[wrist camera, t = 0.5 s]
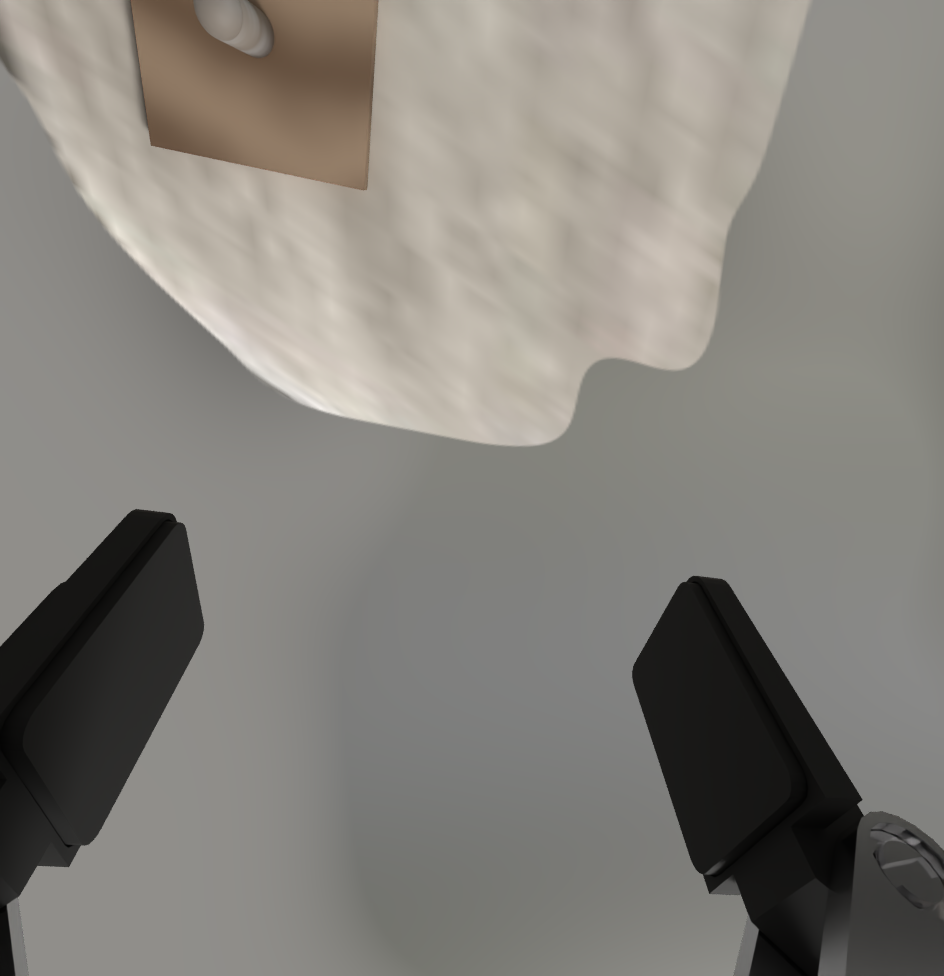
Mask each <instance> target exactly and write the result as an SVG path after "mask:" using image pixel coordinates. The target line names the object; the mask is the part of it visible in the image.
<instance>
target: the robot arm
mask: <svg viewBox="0 0 944 976" xmlns="http://www.w3.org/2000/svg"><path fill="white" fill-rule="evenodd" d="M203 631H204V621H203V616H202V610H201V605H200V600H199V595H198V590H197V584H196V579H195V574H194V569H193V564H192V558H191V553H190V548H189V542H188V537H187V532H186V528H185V525H184V524H183V523H179V522H177V521H176V518H175V516H174V515H173V514H171V513H165V512H155V511H148V510H139V509H136V510H133V511H131V512H130V513H129V514H127V516H126V517H125V518H124V519H123V520H122V521H121V522H120V523H119V524H118V526H116V528H115V529H114V530H113V531H112V532H111V533H110V534H109V535H108V536H107V537H106V538H105V539H104V541H103V542H102V543H101V544H100V545H99V546H98V547H97V548H96V549H95V550H94V552H93V553H92V554H91V555H90V556H89V557H88V558H87V559H86V561H84V562H83V564H82V565H81V566H80V567H79V568H78V569H77V570H76V571H75V572H74V573H73V574H72V575H71V576H70V578H69V579H68V580H67V581H66V582H63V583H61V584H60V585H59V586H57V587H56V588H55V589H54V590H53V591H52V592H51V593H50V594H49V595H48V596H47V597H46V598H45V599H44V600H43V601H42V602H41V603H40V604H39V606H38V607H37V608H36V609H35V610H34V611H33V612H32V613H31V614H30V615H29V616H28V617H27V618H26V620H25V621H24V622H23V623H22V624H21V625H20V626H19V627H18V628H17V629H16V630H15V631H14V632H13V633H12V635H11V636H10V637H9V638H8V639H7V640H6V641H5V642H4V643H3V644H2V646H0V976H29V974H28V966H27V959H26V952H25V945H24V937H23V931H22V923H21V916H20V909H19V902H18V897H19V895H20V894H21V892H22V891H23V889H24V887H25V885H26V884H27V882H28V880H29V878H30V877H31V875H32V874H33V872H34V870H35V868H36V867H37V866H56V867H69V866H70V864H71V862H72V860H73V859H74V857H75V855H76V853H77V851H78V849H79V848H80V846H81V845H88V844H90V843H91V842H92V841H93V840H94V838H95V837H96V836H97V835H98V833H99V831H100V830H101V828H102V826H103V824H104V822H105V820H106V818H107V817H108V815H109V813H110V811H111V809H112V807H113V805H114V804H115V802H116V799H117V798H118V796H119V794H120V792H121V790H122V788H123V786H124V785H125V783H126V781H127V779H128V777H129V775H130V773H131V771H132V770H133V768H134V766H135V764H136V762H137V760H138V758H139V756H140V755H141V753H142V751H143V749H144V747H145V745H146V743H147V741H148V739H149V738H150V736H151V734H152V732H153V730H154V728H155V726H156V724H157V722H158V721H159V719H160V717H161V715H162V713H163V711H164V709H165V707H166V706H167V704H168V702H169V700H170V698H171V696H172V694H173V692H174V691H175V689H176V687H177V685H178V683H179V681H180V679H181V677H182V675H183V674H184V672H185V670H186V668H187V666H188V664H189V662H190V660H191V659H192V657H193V655H194V653H195V651H196V649H197V647H198V645H199V643H200V641H201V638H202V635H203ZM632 678H633V683H634V686H635V690H636V693H637V696H638V699H639V702H640V705H641V708H642V711H643V714H644V717H645V720H646V723H647V727H648V730H649V732H650V736H651V739H652V742H653V745H654V748H655V751H656V754H657V757H658V760H659V763H660V766H661V769H662V773H663V776H664V778H665V782H666V784H667V788H668V791H669V794H670V797H671V800H672V803H673V806H674V809H675V812H676V815H677V818H678V821H679V825H680V828H681V831H682V834H683V837H684V840H685V843H686V846H687V849H688V852H689V855H690V858H691V861H692V863H693V865H694V867H695V868H696V870H697V871H698V872H699V873H701V874H703V876H704V879H705V882H706V885H707V888H708V891H709V894H725V895H740V894H741V896H742V899H743V901H744V904H745V907H746V909H747V912H748V916H747V921H746V925H745V929H744V933H743V938H742V942H741V946H740V950H739V954H738V958H737V963H736V967H735V971H734V975H733V976H944V850H943V849H942V848H941V847H940V846H939V845H938V844H937V843H936V842H935V841H934V840H933V839H932V838H931V837H929V836H928V835H927V834H925V833H924V832H923V831H921V830H920V829H919V828H917V827H916V826H915V825H913V824H911V823H910V822H908V821H906V820H904V819H902V818H900V817H899V816H896V815H892V814H889V813H886V812H883V811H880V812H869V813H868V814H866V815H865V816H864V815H863V814H862V812H861V810H860V809H859V807H858V805H857V804H858V803H859V802H860V801H862V798H861V796H860V795H859V793H858V792H857V790H856V788H855V787H854V785H853V783H852V782H851V780H850V779H849V777H848V775H847V774H846V772H845V771H844V769H843V767H842V766H841V764H840V763H839V761H838V759H837V758H836V756H835V755H834V753H833V751H832V750H831V748H830V747H829V745H828V743H827V742H826V740H825V738H824V737H823V735H822V734H821V732H820V730H819V729H818V727H817V726H816V724H815V722H814V721H813V719H812V718H811V716H810V714H809V713H808V711H807V709H806V708H805V706H804V705H803V703H802V701H801V700H800V698H799V697H798V695H797V693H796V692H795V690H794V689H793V687H792V685H791V684H790V682H789V681H788V679H787V677H786V676H785V674H784V672H783V671H782V669H781V668H780V666H779V664H778V663H777V661H776V660H775V658H774V656H773V655H772V653H771V651H770V650H769V648H768V647H767V645H766V643H765V642H764V640H763V639H762V637H761V635H760V634H759V632H758V631H757V629H756V627H755V626H754V624H753V622H752V621H751V619H750V618H749V616H748V614H747V613H746V611H745V610H744V608H743V606H742V605H741V603H740V602H739V600H738V599H737V597H736V595H735V594H734V592H733V590H732V589H731V587H730V586H729V584H728V583H727V582H726V581H725V580H723V579H717V578H709V577H700V576H692V577H691V578H689V579H688V581H687V582H683V583H681V584H680V585H679V586H678V588H677V590H676V592H675V594H674V595H673V597H672V599H671V600H670V602H669V604H668V606H667V608H666V609H665V611H664V613H663V614H662V616H661V618H660V620H659V621H658V623H657V625H656V627H655V628H654V630H653V632H652V634H651V636H650V637H649V639H648V641H647V643H646V644H645V646H644V648H643V650H642V651H641V653H640V655H639V657H638V658H637V660H636V662H635V664H634V666H633V671H632Z"/></svg>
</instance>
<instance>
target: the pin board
mask: <svg viewBox="0 0 944 976" xmlns="http://www.w3.org/2000/svg"><path fill="white" fill-rule="evenodd" d="M131 7H132V14H133V21H134V28H135V35H136V42H137V50H138V57H139V64H140V71H141V78H142V85H143V92H144V99H145V107H146V114H147V121H148V128H149V135H150V142H151V146H156V147H160V148H165V149H170V150H175V151H179V152H184V153H189V154H194V155H198V156H203V157H208V158H213V159H217V160H222V161H227V162H232V163H236V164H241V165H246V166H251V167H255V168H260V169H265V170H269V171H274V172H279V173H284V174H288V175H293V176H298V177H303V178H307V179H312V180H317V181H322V182H326V183H331V184H336V185H341V186H345V187H350V188H355V189H360V190H367V182H368V165H369V149H370V132H371V115H372V98H373V82H374V65H375V48H376V31H377V15H378V0H131Z"/></svg>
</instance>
